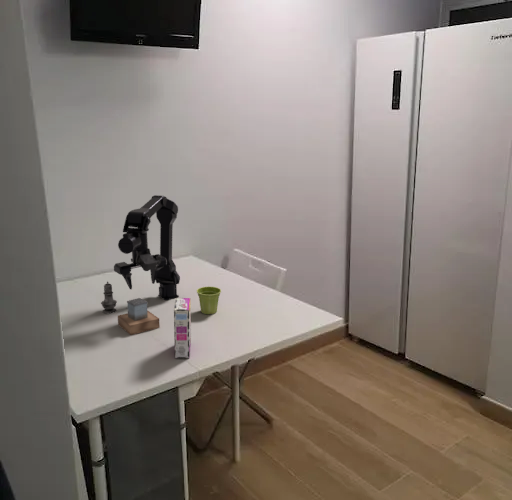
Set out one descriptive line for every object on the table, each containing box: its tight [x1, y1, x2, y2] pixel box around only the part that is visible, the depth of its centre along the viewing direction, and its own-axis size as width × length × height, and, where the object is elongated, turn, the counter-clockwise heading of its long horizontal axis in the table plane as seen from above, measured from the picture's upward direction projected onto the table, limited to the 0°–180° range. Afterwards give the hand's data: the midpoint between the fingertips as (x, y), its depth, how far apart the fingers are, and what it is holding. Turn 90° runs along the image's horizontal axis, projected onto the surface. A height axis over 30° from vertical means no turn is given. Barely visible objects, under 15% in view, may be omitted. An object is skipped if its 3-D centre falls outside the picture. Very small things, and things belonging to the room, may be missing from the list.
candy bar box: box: [173, 297, 192, 359], centre depth 167 cm, size 11×5×16 cm, turn 5°
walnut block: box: [117, 309, 161, 336], centre depth 187 cm, size 11×11×4 cm
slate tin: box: [126, 297, 148, 321], centre depth 186 cm, size 5×5×6 cm
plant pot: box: [196, 286, 222, 315], centre depth 201 cm, size 9×9×9 cm
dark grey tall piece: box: [100, 280, 118, 314], centre depth 200 cm, size 6×6×12 cm
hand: (142, 286), depth 192 cm, fingers open, 9 cm apart
